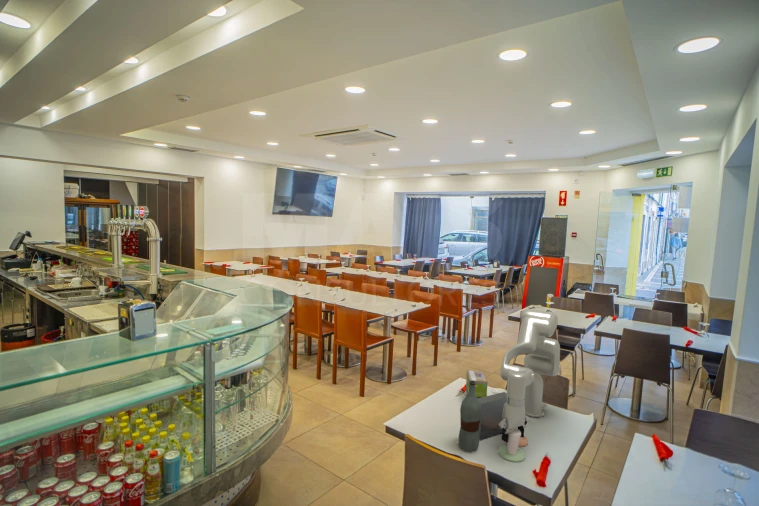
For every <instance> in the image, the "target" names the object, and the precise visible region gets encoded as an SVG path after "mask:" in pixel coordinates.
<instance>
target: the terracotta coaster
mask: <svg viewBox="0 0 759 506" xmlns="http://www.w3.org/2000/svg"><path fill="white" fill-rule="evenodd" d="M528 444H529V439H528V437H526V436H525V435H524V437H523V438H522V437H521V436H520V439H519V444H518V448H524V447H527V446H528Z"/></svg>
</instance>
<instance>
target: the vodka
mask: <svg viewBox="0 0 759 506" xmlns="http://www.w3.org/2000/svg"><path fill="white" fill-rule="evenodd" d="M469 382H470V383H469V393H468V394H467V396H466V395H465V397H464V398H463V400H462V401H461V403H460V408H459V413H460V417H459V418H460V428H459V431H458V432H459V433H458V444H459V448H460V449H461V450H462V451H464V452H468V453H474V452H477V451H478V449H479V446H480V442H481V441H480V439H479V424H480V417H481V405H480V402H479V401H478V399H477V397H476V395H475V381H469Z"/></svg>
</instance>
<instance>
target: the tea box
mask: <svg viewBox="0 0 759 506" xmlns="http://www.w3.org/2000/svg"><path fill="white" fill-rule="evenodd" d="M465 375H466V378H465V379H466V381H465V397H466V396H467V394H468V393H469V383H470V382H469V381H475V395H476V397H477V398H482V397H486V396H488V380H487V377H486V375H485V372H484V371H483V370H482V371H481V370H480V371H479V370H466V374H465Z"/></svg>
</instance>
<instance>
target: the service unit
mask: <svg viewBox="0 0 759 506" xmlns="http://www.w3.org/2000/svg"><path fill="white" fill-rule="evenodd" d="M506 395H507V392H505V391H502V392H498V393H495V394H491V395H487V396H486V397H482V398H477V399H478V401H479V402H480V405H481V417H480V424H479V439H480V441H479V442H481V441H484V440H487V439H491V438H494V437H497V436H500V435H502V431H501V430H500V427H499V423H500V422H501V421H502V413H503V408H504V404H505V403H506ZM507 426H508V425H507ZM506 429H507V427H505V430H506Z"/></svg>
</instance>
